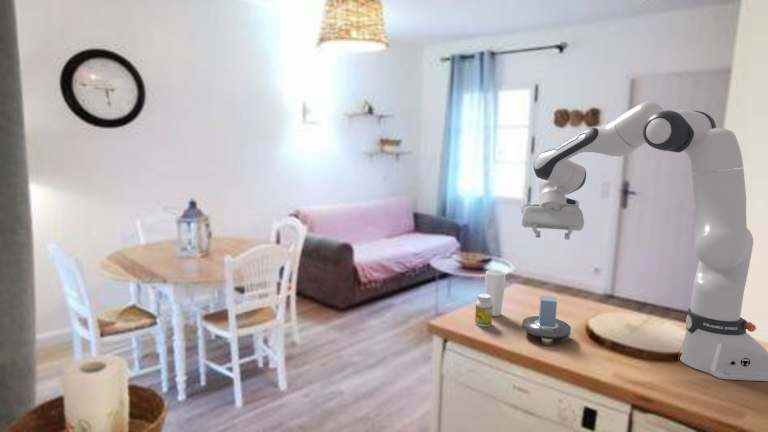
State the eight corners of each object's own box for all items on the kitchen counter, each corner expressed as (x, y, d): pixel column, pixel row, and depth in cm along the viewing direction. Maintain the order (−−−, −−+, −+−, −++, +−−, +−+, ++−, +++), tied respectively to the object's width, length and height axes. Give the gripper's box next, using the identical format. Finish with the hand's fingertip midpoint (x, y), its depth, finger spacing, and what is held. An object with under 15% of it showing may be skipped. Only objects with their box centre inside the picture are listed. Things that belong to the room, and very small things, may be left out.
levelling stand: (566, 330, 147) (567, 316, 146) (572, 349, 134) (574, 334, 133) (520, 325, 150) (521, 312, 150) (522, 343, 137) (523, 328, 136)
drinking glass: (503, 318, 156) (506, 275, 154) (483, 316, 158) (485, 274, 155) (502, 311, 163) (505, 270, 161) (483, 309, 164) (485, 269, 162)
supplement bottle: (494, 325, 150) (496, 297, 149) (481, 328, 148) (482, 299, 146) (485, 319, 155) (486, 292, 153) (471, 322, 153) (473, 294, 151)
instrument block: (553, 321, 143) (555, 297, 142) (554, 327, 139) (556, 301, 137) (538, 320, 144) (540, 295, 143) (539, 325, 140) (541, 300, 139)
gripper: (522, 198, 165) (521, 230, 157) (583, 201, 160) (586, 234, 152) (521, 209, 170) (520, 240, 162) (580, 212, 165) (582, 244, 157)
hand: (552, 237), depth 157 cm, fingers open, 8 cm apart
